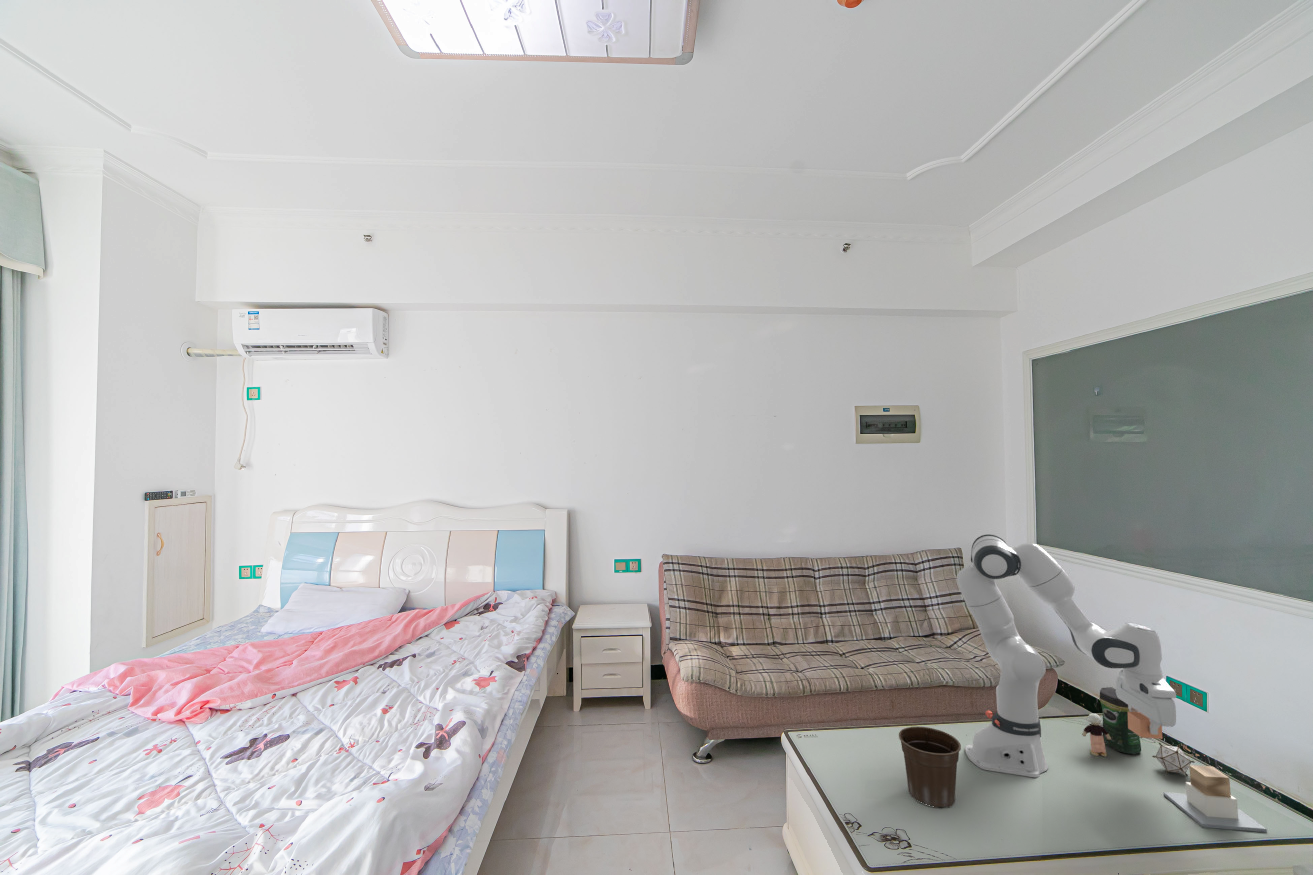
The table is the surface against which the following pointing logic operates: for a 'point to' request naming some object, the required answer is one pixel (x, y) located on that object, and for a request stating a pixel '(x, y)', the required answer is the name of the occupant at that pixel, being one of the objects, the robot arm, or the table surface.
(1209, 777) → the oak brick
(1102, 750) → the grandmother figurine
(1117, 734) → the coffee jar
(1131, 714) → the terracotta brick
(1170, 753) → the game die
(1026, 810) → the table surface
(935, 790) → the plant pot
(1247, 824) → the baseplate
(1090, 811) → the table surface
